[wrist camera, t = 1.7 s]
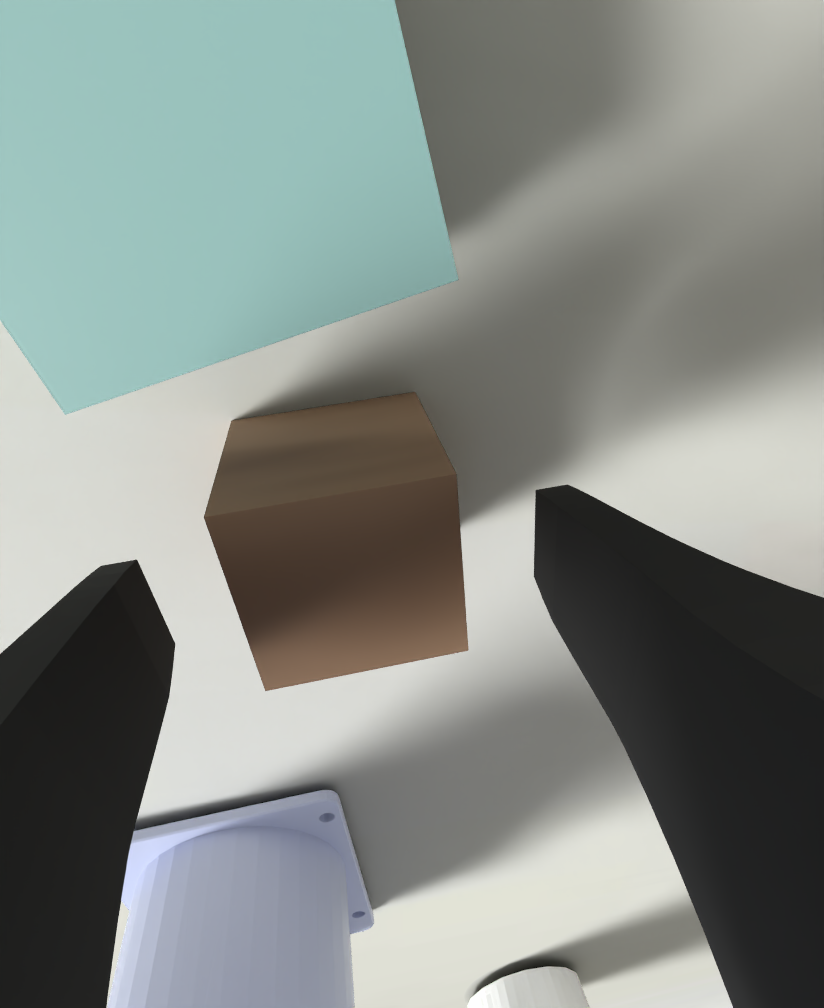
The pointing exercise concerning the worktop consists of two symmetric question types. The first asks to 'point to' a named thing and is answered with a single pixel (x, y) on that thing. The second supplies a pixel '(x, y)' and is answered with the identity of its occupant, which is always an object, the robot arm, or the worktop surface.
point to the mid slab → (204, 182)
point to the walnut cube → (340, 539)
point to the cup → (533, 990)
